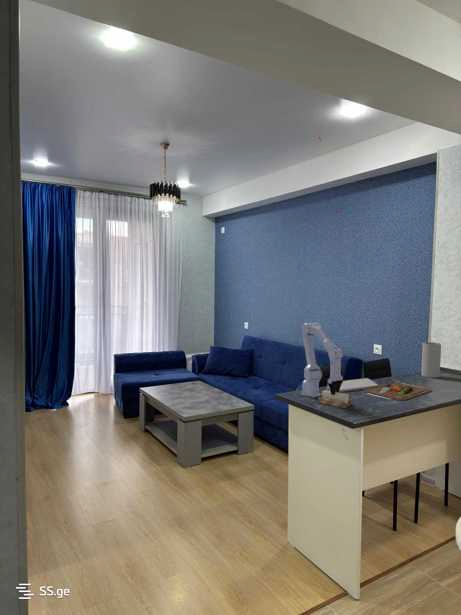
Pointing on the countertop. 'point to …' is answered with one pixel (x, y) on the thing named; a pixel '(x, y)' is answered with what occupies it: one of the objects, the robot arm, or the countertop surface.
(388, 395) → the chopping board
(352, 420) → the countertop surface
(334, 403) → the oak rack
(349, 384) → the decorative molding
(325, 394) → the light grey rectangular block
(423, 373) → the cylinder vase
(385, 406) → the countertop surface
